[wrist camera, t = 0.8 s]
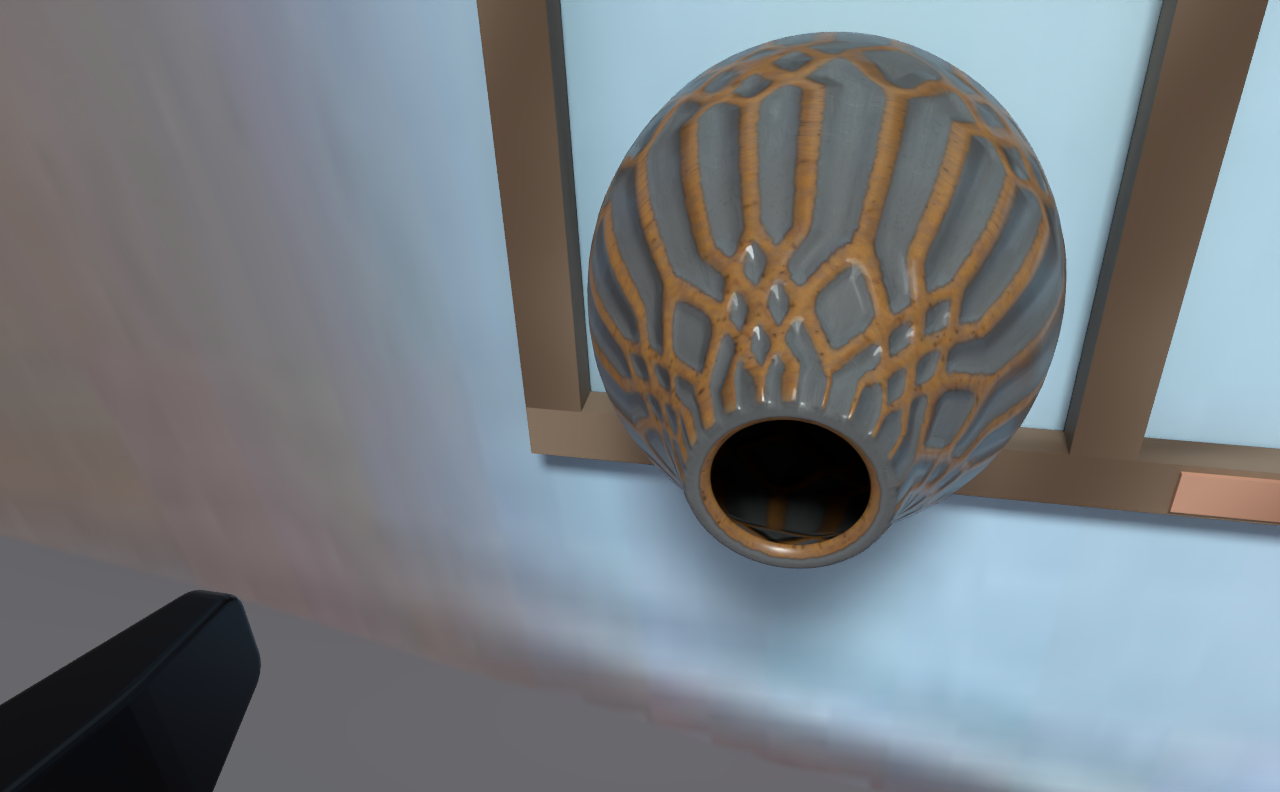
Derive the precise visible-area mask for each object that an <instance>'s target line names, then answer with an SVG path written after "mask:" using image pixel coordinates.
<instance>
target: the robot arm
mask: <svg viewBox="0 0 1280 792" xmlns="http://www.w3.org/2000/svg"><path fill="white" fill-rule="evenodd" d="M260 662H261V661H260V654H259V650H258V648H257V645H256V642H255V639H254V636H253V633H252V630H251V627H250V624H249V621H248V618H247V615H246V612H245V610H244V607H243V605H242V602H241V601H240V600H239V599H238V598H237V597H236V596H234V595H231V594H227V593H219V592H212V591H205V590H195V591H191V592H188V593H186V594H184V595H182V596H180V597H178V598H177V599H175V600H174V601H172V602H170V603H169V604H167V605H165V606H164V607H162V608H160V609H159V610H157V611H155V612H154V613H152V614H150V615H149V616H147V617H145V618H144V619H142V620H140V621H139V622H137V623H136V624H134V625H132V626H130V627H129V628H127V629H126V630H124V631H122V632H121V633H119V634H117V635H116V636H114V637H112V638H111V639H109V640H107V641H106V642H104V643H102V644H101V645H99V646H97V647H96V648H94V649H92V650H91V651H89V652H87V653H86V654H84V655H82V656H81V657H79V658H77V659H76V660H74V661H73V662H71V663H69V664H68V665H66V666H65V667H62V668H61V669H59V670H58V671H56V672H54V673H53V674H51V675H49V676H48V677H46V678H44V679H43V680H41V681H39V682H38V683H36V684H34V685H33V686H31V687H30V688H28V689H26V690H24V691H23V692H21V693H20V694H18V695H16V696H15V697H13V698H11V699H10V700H8V701H6V702H4V703H3V704H1V705H0V792H213V790H214V787H215V785H216V782H217V780H218V777H219V775H220V773H221V770H222V768H223V765H224V763H225V761H226V758H227V756H228V753H229V751H230V749H231V746H232V744H233V741H234V739H235V736H236V734H237V731H238V729H239V727H240V724H241V722H242V720H243V717H244V715H245V712H246V710H247V707H248V705H249V703H250V700H251V698H252V695H253V693H254V691H255V688H256V685H257V682H258V679H259V675H260V668H261V663H260Z"/></svg>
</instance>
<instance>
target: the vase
mask: <svg viewBox="0 0 1280 792" xmlns="http://www.w3.org/2000/svg"><path fill="white" fill-rule="evenodd" d="M587 292H588V316H589V326H590V334H591V339H592V344H593V350H594V355H595V359H596V363H597V367H598V370H599V373H600V376H601V379H602V381H603V384H604V387H605V390H606V392H607V395H608V397H609V399H610V402H611V404H612V406H613V408H614V410H615V412H616V413H617V415H618V417H619V419H620V421H621V422H622V424H623V425H624V427H625V428H626V430H627V431H628V433H629V434H630V436H631V437H632V439H633V440H634V441H635V443H636V444H637V445H638V447H639V448H640V449H641V450H642V452H643V453H644V454H645V455H646V456H647V457H648V458H649V459H650V461H651V462H652V463H653V464H654V465H655V466H656V467H657V468H659V469H660V470H661V471H662V472H663V473H664V474H665V475H666V476H667V477H668V478H669V479H670V480H671V481H673V482H674V483H675V484H676V485H677V486H679V487H680V488H681V489H682V490H683V491H684V494H685V496H686V499H687V501H688V503H689V505H690V507H691V509H692V511H693V513H694V514H695V516H696V518H697V519H698V520H699V522H700V523H701V524H702V526H703V527H704V528H705V529H706V530H707V531H708V532H709V533H710V534H711V535H712V536H713V537H714V538H715V539H717V540H718V541H719V542H720V543H722V544H723V545H725V546H726V547H728V548H729V549H731V550H732V551H734V552H736V553H738V554H740V555H742V556H744V557H746V558H749V559H751V560H754V561H757V562H760V563H764V564H767V565H772V566H777V567H784V568H816V567H823V566H828V565H832V564H835V563H839V562H841V561H844V560H847V559H849V558H851V557H854V556H855V555H857V554H859V553H861V552H863V551H864V550H866V549H867V548H868V547H870V546H871V545H872V544H873V543H875V542H876V541H877V540H878V539H879V538H880V537H881V536H882V535H883V534H884V533H885V532H886V530H887V529H888V528H889V527H890V526H891V524H892V523H894V522H897V521H899V520H902V519H905V518H907V517H909V516H912V515H914V514H916V513H918V512H921V511H923V510H925V509H927V508H929V507H931V506H933V505H934V504H936V503H938V502H940V501H942V500H943V499H945V498H947V497H948V496H950V495H951V494H953V493H954V492H956V491H957V490H959V489H960V488H961V487H962V486H964V485H965V484H966V483H968V482H969V481H970V480H971V479H972V478H974V477H975V476H976V475H977V474H979V473H980V472H981V471H982V470H983V469H984V468H985V467H987V466H988V465H989V464H990V463H991V462H992V461H993V460H994V459H995V457H996V456H997V455H998V454H999V453H1000V452H1001V450H1002V449H1003V448H1004V447H1005V446H1006V444H1007V443H1008V442H1009V441H1010V439H1011V438H1012V437H1013V435H1014V434H1015V433H1016V431H1017V430H1018V428H1019V427H1020V426H1021V424H1022V422H1023V421H1024V419H1025V418H1026V416H1027V414H1028V413H1029V411H1030V409H1031V407H1032V405H1033V403H1034V401H1035V399H1036V397H1037V395H1038V393H1039V391H1040V389H1041V387H1042V385H1043V383H1044V380H1045V377H1046V375H1047V372H1048V369H1049V367H1050V364H1051V361H1052V359H1053V356H1054V352H1055V349H1056V345H1057V342H1058V338H1059V333H1060V329H1061V324H1062V319H1063V313H1064V306H1065V294H1066V254H1065V244H1064V239H1063V234H1062V229H1061V224H1060V219H1059V214H1058V210H1057V207H1056V203H1055V200H1054V196H1053V194H1052V191H1051V189H1050V186H1049V184H1048V181H1047V179H1046V176H1045V174H1044V171H1043V169H1042V166H1041V164H1040V162H1039V160H1038V158H1037V156H1036V154H1035V152H1034V150H1033V149H1032V147H1031V146H1030V144H1029V142H1028V141H1027V139H1026V138H1025V136H1024V134H1023V133H1022V131H1021V130H1020V128H1019V127H1018V125H1017V124H1016V122H1015V121H1014V120H1013V118H1012V117H1011V116H1010V114H1009V113H1008V112H1007V111H1006V109H1005V108H1004V107H1003V106H1002V105H1001V104H1000V103H999V102H998V101H997V100H996V99H995V98H994V97H993V96H992V95H991V94H990V93H989V92H988V91H987V90H986V89H985V88H984V87H982V86H981V85H980V84H979V83H978V82H976V81H975V80H974V79H972V78H971V77H970V76H968V75H967V74H966V73H964V72H962V71H961V70H959V69H958V68H956V67H955V66H953V65H951V64H950V63H948V62H946V61H944V60H943V59H941V58H939V57H937V56H935V55H933V54H931V53H929V52H927V51H924V50H922V49H920V48H917V47H915V46H912V45H909V44H906V43H903V42H900V41H897V40H893V39H889V38H885V37H881V36H876V35H869V34H862V33H851V32H819V33H808V34H801V35H795V36H789V37H785V38H781V39H777V40H773V41H770V42H767V43H764V44H761V45H758V46H755V47H752V48H749V49H747V50H745V51H742V52H740V53H738V54H735V55H733V56H731V57H729V58H727V59H725V60H723V61H721V62H719V63H718V64H716V65H714V66H713V67H711V68H709V69H708V70H706V71H705V72H703V73H702V74H700V75H699V76H697V77H696V78H695V79H693V80H692V81H691V82H690V83H688V84H687V85H686V86H685V87H683V88H682V89H681V90H680V91H679V92H678V93H677V94H676V95H675V96H673V97H672V98H671V99H670V100H669V101H668V102H667V103H666V104H665V106H664V107H663V108H662V109H661V110H660V111H659V112H658V113H657V114H656V115H655V116H654V117H653V118H652V120H651V121H650V122H649V123H648V125H647V126H646V127H645V128H644V130H643V131H642V132H641V134H640V135H639V136H638V138H637V139H636V141H635V142H634V144H633V145H632V147H631V148H630V150H629V151H628V153H627V154H626V156H625V157H624V159H623V161H622V163H621V164H620V166H619V168H618V170H617V172H616V174H615V176H614V178H613V180H612V182H611V184H610V186H609V189H608V191H607V193H606V195H605V198H604V200H603V203H602V206H601V209H600V212H599V215H598V219H597V223H596V227H595V231H594V236H593V240H592V245H591V251H590V258H589V271H588V286H587Z"/></svg>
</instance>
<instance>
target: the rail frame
mask: <svg viewBox="0 0 1280 792" xmlns="http://www.w3.org/2000/svg"><path fill="white" fill-rule="evenodd" d="M1267 4H1268V0H1164V1H1163V5H1162V9H1161V14H1160V18H1159V22H1158V27H1157V31H1156V35H1155V40H1154V44H1153V48H1152V53H1151V57H1150V61H1149V66H1148V70H1147V74H1146V79H1145V83H1144V87H1143V92H1142V96H1141V100H1140V104H1139V109H1138V113H1137V117H1136V122H1135V126H1134V130H1133V135H1132V139H1131V143H1130V148H1129V152H1128V156H1127V161H1126V165H1125V169H1124V174H1123V178H1122V182H1121V187H1120V191H1119V195H1118V200H1117V204H1116V208H1115V213H1114V217H1113V221H1112V225H1111V230H1110V234H1109V238H1108V243H1107V247H1106V251H1105V256H1104V260H1103V264H1102V269H1101V273H1100V277H1099V282H1098V286H1097V290H1096V295H1095V299H1094V303H1093V308H1092V312H1091V316H1090V321H1089V325H1088V329H1087V334H1086V338H1085V342H1084V346H1083V351H1082V355H1081V359H1080V364H1079V368H1078V372H1077V377H1076V381H1075V385H1074V390H1073V394H1072V398H1071V403H1070V407H1069V411H1068V416H1067V420H1066V424H1065V429H1064V431H1059V430H1047V429H1036V428H1024V427H1019V428H1018V430H1017V431H1016V433H1015V434H1014V435H1013V437H1012V438H1011V439H1010V441H1009V442H1008V443H1007V444H1006V446H1005V447H1004V448H1003V449H1002V450H1001V452H1000V453H999V454H998V455H997V456H996V457H995V459H994V460H993V461H992V462H991V463H990V464H989V465H988V466H987V467H985V468H984V469H983V470H982V471H981V472H980V473H979V474H977V475H976V476H975V477H974V478H972V479H971V480H970V481H969V482H968V483H966V484H965V485H964V486H962V487H961V488H960V489H959V490H957V491H956V492H954V493H953V494H960V495H970V496H980V497H991V498H1001V499H1011V500H1022V501H1032V502H1042V503H1053V504H1063V505H1073V506H1084V507H1094V508H1104V509H1115V510H1125V511H1135V512H1146V513H1156V514H1166V515H1177V516H1187V517H1197V518H1208V519H1218V520H1228V521H1239V522H1249V523H1259V524H1270V525H1280V449H1275V448H1263V447H1251V446H1239V445H1227V444H1215V443H1203V442H1191V441H1179V440H1167V439H1155V438H1144V435H1145V431H1146V428H1147V424H1148V421H1149V417H1150V414H1151V410H1152V407H1153V403H1154V400H1155V396H1156V393H1157V389H1158V386H1159V382H1160V379H1161V375H1162V372H1163V368H1164V365H1165V361H1166V358H1167V354H1168V351H1169V347H1170V344H1171V340H1172V337H1173V333H1174V330H1175V326H1176V323H1177V319H1178V316H1179V312H1180V308H1181V305H1182V301H1183V298H1184V294H1185V291H1186V287H1187V284H1188V280H1189V277H1190V273H1191V270H1192V266H1193V263H1194V259H1195V256H1196V252H1197V249H1198V245H1199V242H1200V238H1201V235H1202V231H1203V228H1204V224H1205V221H1206V217H1207V214H1208V210H1209V207H1210V203H1211V200H1212V196H1213V193H1214V189H1215V186H1216V182H1217V179H1218V175H1219V172H1220V168H1221V165H1222V161H1223V158H1224V154H1225V151H1226V147H1227V144H1228V140H1229V137H1230V133H1231V130H1232V126H1233V123H1234V119H1235V116H1236V112H1237V109H1238V105H1239V102H1240V98H1241V95H1242V91H1243V88H1244V84H1245V81H1246V77H1247V74H1248V70H1249V67H1250V63H1251V60H1252V56H1253V53H1254V49H1255V46H1256V42H1257V39H1258V35H1259V32H1260V28H1261V25H1262V21H1263V18H1264V14H1265V11H1266V7H1267ZM477 8H478V17H479V25H480V33H481V41H482V50H483V58H484V66H485V74H486V82H487V91H488V99H489V107H490V115H491V124H492V132H493V140H494V148H495V156H496V165H497V173H498V181H499V189H500V198H501V206H502V214H503V222H504V230H505V239H506V247H507V255H508V263H509V272H510V280H511V288H512V296H513V304H514V313H515V321H516V329H517V337H518V346H519V354H520V362H521V370H522V378H523V387H524V395H525V403H526V411H527V420H528V428H529V436H530V444H531V452H532V453H536V454H546V455H556V456H567V457H577V458H587V459H598V460H608V461H618V462H629V463H639V464H649V465H654V464H653V463H652V462H651V461H650V459H649V458H648V457H647V456H646V455H645V454H644V453H643V452H642V450H641V449H640V448H639V447H638V445H637V444H636V443H635V441H634V440H633V439H632V437H631V436H630V434H629V433H628V431H627V430H626V428H625V427H624V425H623V424H622V422H621V421H620V419H619V417H618V415H617V413H616V412H615V410H614V408H613V406H612V404H611V402H610V399H609V397H608V395H607V393H605V392H593V391H591V390H590V378H589V365H588V352H587V340H586V327H585V314H584V302H583V289H582V276H581V263H580V251H579V238H578V225H577V213H576V200H575V187H574V175H573V162H572V149H571V137H570V124H569V111H568V99H567V86H566V73H565V61H564V48H563V35H562V22H561V10H560V0H477Z"/></svg>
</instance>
